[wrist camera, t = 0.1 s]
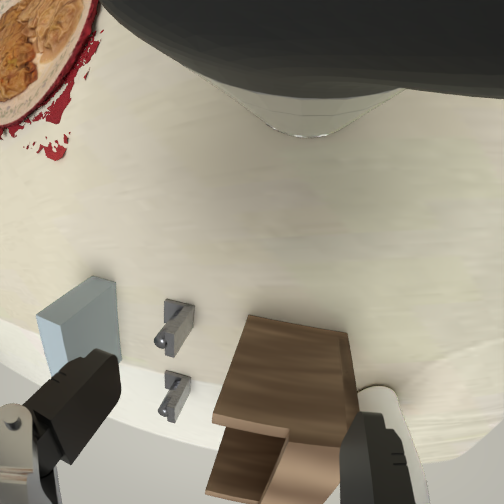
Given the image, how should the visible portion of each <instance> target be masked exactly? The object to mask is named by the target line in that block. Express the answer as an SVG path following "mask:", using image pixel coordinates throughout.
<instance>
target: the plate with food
mask: <svg viewBox="0 0 504 504" xmlns="http://www.w3.org/2000/svg"><path fill="white" fill-rule="evenodd" d="M98 1H99V0H0V139H2V138H1V135H2V134H3V131H4V129H6V128H8V129H9V133H10V134H11V136H12V137H13V138H14V137H16V136H17V135H16V136H15V135H14V134H15V132H16V131H17V130H18V129H23V128H24V125H25V124H24V125H23V126H20V125H19V124H21V122H23V120H25V118H26V117H27V116H28V115H30V114H31V113H32V112H34V111H35V110H37V109H38V108H39V107H41V106H43V105H45V104H47V102H48V101H49V100H50V98H51V97H54V95H55V93H56V92H58V90H59V89H60V88H61V87H62V86H63V83H64V82H65V83H64V84H65V85H66V83H68V86H66V89H64V90H65V91H63V93H62V94H61V95H60V97H59V98H58V99H56V102H55V104H54V101H53V103H52V105H51V106H50V107H48V108H47V109H48V110H49V108H50V110H49V111H50V112H49V111H48V112H47V111H46V112H45V113H46V114H48V115H47V116H46V114H45V113H44V114H45V116H44V117H43V114H42V112H41V113H39V115H37V117H35V119H34V118H33V120H32V121H33V122H34V121H38V120H40V119H41V117H42V119H44V118H45V117H46V121H47V122H51V123H54V124H59V123H60V120H61V116H62V113H63V111H64V109H65V108H66V106H67V105H68V104H69V102H70V101H71V98H70V92H71V90H72V87H73V85H74V83H75V82H74V77H76V74H77V72H78V69H79V68H80V67H81V66H82V65H83V66H84V64H83V59H84V60H86V62H85V61H84V63H85V64H87V63H88V62H89V61H90V60H91V57H92V55H93V54H94V53H95V54H96V52H95V51H96V48H97V46H98V44H99V43H100V42H98V41H94V36H95V34H96V31H94V33H92V35H93V36H92V37H89V35H90V34H91V31H92V29H91V28H92V23H93V22H94V19H95V15H96V14H97V4H98ZM103 31H104V30H102V31H101V33H102V32H103ZM101 33H100V34H101ZM91 38H92V41H91ZM89 39H90V40H89ZM101 39H102V38H101ZM100 41H101V40H100ZM92 42H93V44H92V45H91V44H90V43H92ZM86 43H87V46H85V44H86ZM89 47H90V49H89V53H88V48H89ZM84 49H85V50H84ZM80 57H81V58H82V59H81V58H80ZM80 61H81V62H80ZM77 64H79V65H77ZM74 68H75V69H74ZM89 69H90V68H89ZM88 72H89V71H88ZM88 72H87V73H88ZM86 75H87V74H86ZM86 75H85V76H84V78H86ZM61 85H62V86H61ZM53 106H54V107H53ZM49 114H50V115H49ZM24 122H26V123H30V124H31V122H30V120H29V118H27V119H26V120H25V121H24ZM70 133H71V132H69V134H70ZM46 139H47V137H46ZM67 139H69V138H67V136H66V135H65V134H64V143H67ZM2 140H3V139H2ZM55 143H57V144H58V141H57V140H56V141H55ZM51 144H52V143H51V142H49V145H48V147H45V146H43V145H41V144H40V148H39V150H38V151H37V153H39V151H40V150H41V149H42V148H43V147H44V150H45V153H46V156H47V158H50V159H53V160H54V161H56V160H59V159H60V158H61V157H62V156H63V154H64V152H65V151H66V148H64V147H63V146H60V145H59V144H58V147H57V148H56V147H55V146H54V148H56V151H57V152H53V150H52V146H51ZM67 144H68V143H67ZM34 145H35V142H34V143H33V146H34ZM24 148H25V147H24ZM28 148H29V145H28V146H27V148H26V149H28ZM31 149H32V148H31Z"/></svg>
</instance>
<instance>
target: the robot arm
mask: <svg viewBox="0 0 504 504" xmlns="http://www.w3.org/2000/svg"><path fill="white" fill-rule="evenodd" d="M99 1H100V2H101V4H102V5H103V6H104V8H105V9H106V10H107V11H108V12H109V13H110V14H111V15H112V16H113V17H114V18H115V19H116V20H117V21H118V22H119V23H120V24H121V25H123V26H124V27H125V28H127V29H128V30H129V31H131V32H132V33H133V34H134V35H136V36H137V37H138V38H140V39H142V40H143V41H145V42H146V43H148V44H150V45H151V46H153V47H154V48H156V49H158V50H159V51H161V52H162V53H164V54H166V55H167V56H169V57H171V58H172V59H174V60H176V61H177V62H179V63H180V64H182V65H183V66H185V67H186V68H188V69H189V70H191V71H192V72H194V73H195V74H197V75H198V76H200V77H202V78H203V79H205V80H206V81H208V82H209V83H211V84H212V85H213V86H215V87H217V88H218V89H220V90H221V91H223V92H224V93H225V94H227V95H228V96H230V97H231V98H233V99H234V100H235V101H237V102H238V103H240V104H241V105H242V106H244V107H245V108H246V109H248V110H249V111H250V112H252V113H253V114H255V115H256V116H257V117H259V118H260V119H261V120H262V121H264V122H265V123H266V124H267V125H268V126H270V127H271V128H273V129H275V130H277V131H280V132H282V133H284V134H287V135H291V136H295V137H302V138H315V137H323V136H326V135H329V134H332V133H335V132H336V131H338V130H340V129H342V128H343V127H345V126H347V125H349V124H350V123H352V122H353V121H355V120H357V119H358V118H360V117H361V116H363V115H365V114H366V113H368V112H370V111H371V110H373V109H374V108H376V107H378V106H379V105H381V104H383V103H384V102H386V101H388V100H389V99H391V98H392V97H393V96H395V95H397V94H398V93H400V92H402V91H403V90H405V89H412V90H420V91H428V92H436V93H444V94H453V95H462V96H471V97H484V98H496V99H504V0H99ZM120 395H121V382H120V374H119V365H118V358H117V356H116V355H114V354H111V353H109V352H106V351H103V350H101V349H98V348H95V349H93V350H92V351H91V352H90V353H89V354H88V355H87V356H86V357H85V358H83V357H78V358H76V359H74V360H72V361H69V362H67V363H66V364H65V365H64V366H63V367H62V368H61V369H60V370H59V372H58V373H56V374H55V375H53V376H52V377H51V380H50V379H49V380H48V381H47V382H46V383H45V384H44V385H43V386H42V387H41V388H40V389H39V390H38V391H37V392H36V393H35V394H33V396H32V397H30V398H29V399H28V401H26V402H25V403H24V404H23V405H20V404H6V405H3V406H1V407H0V504H62V499H61V493H60V487H59V481H58V472H57V467H56V464H57V463H58V461H59V460H60V459H61V460H63V461H65V462H66V463H68V464H70V465H72V463H73V462H74V461H75V459H76V458H77V457H78V455H79V454H80V452H81V451H82V450H83V448H84V447H85V446H86V444H87V443H88V442H89V440H90V439H91V438H92V436H93V435H94V433H95V432H96V431H97V429H98V428H99V427H100V425H101V424H102V422H103V421H104V420H105V419H106V417H107V416H108V415H109V413H110V412H111V411H112V409H113V408H114V407H115V405H116V404H117V402H118V400H119V398H120ZM404 453H405V452H404V448H403V444H402V440H401V439H400V437H399V436H398V435H397V433H396V432H395V430H394V429H386V426H385V421H384V417H383V415H382V413H376V412H363V411H359V412H358V413H357V414H356V416H355V418H354V420H353V422H352V424H351V426H350V428H349V429H348V431H347V433H346V435H345V437H344V439H343V441H342V443H341V447H340V452H339V466H340V499H341V500H340V504H416V503H415V498H414V493H413V488H412V483H411V479H410V474H409V469H408V466H407V460H406V456H405V455H404Z"/></svg>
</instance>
